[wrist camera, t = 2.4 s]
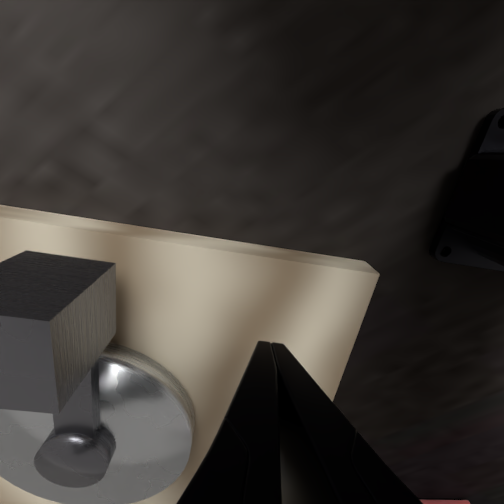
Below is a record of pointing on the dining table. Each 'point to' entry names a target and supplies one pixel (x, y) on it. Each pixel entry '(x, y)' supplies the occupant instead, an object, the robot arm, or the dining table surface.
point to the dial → (81, 390)
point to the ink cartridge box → (444, 501)
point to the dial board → (206, 309)
